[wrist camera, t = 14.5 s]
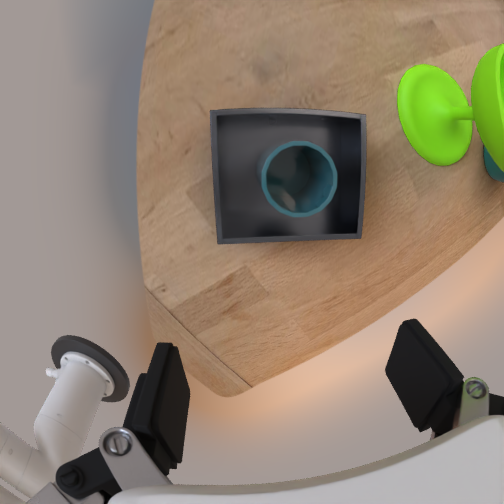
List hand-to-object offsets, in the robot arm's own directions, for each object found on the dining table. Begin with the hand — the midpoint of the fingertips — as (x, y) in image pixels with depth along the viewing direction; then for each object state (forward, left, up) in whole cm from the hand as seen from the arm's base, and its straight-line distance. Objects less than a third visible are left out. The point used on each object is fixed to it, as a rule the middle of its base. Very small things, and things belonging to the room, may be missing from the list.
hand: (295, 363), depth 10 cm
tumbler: (+3, +5, -24) cm, 25 cm away
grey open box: (+3, +5, -25) cm, 26 cm away
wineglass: (+27, +15, -25) cm, 40 cm away
